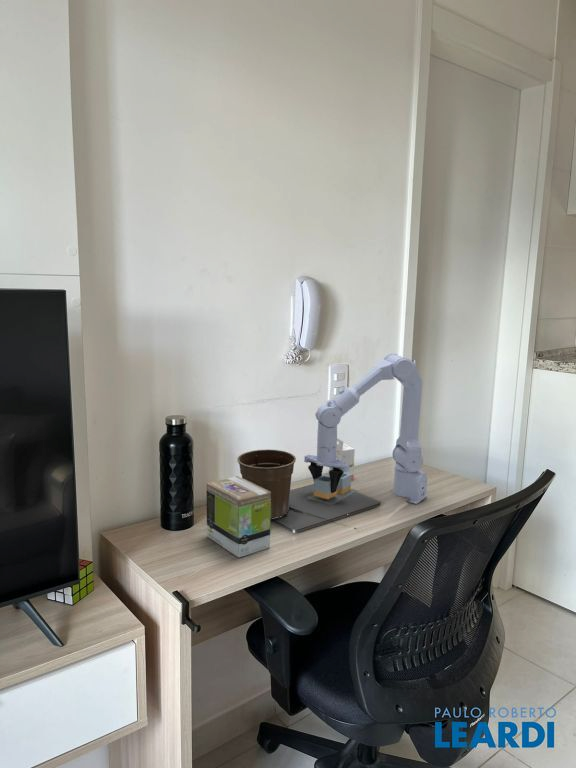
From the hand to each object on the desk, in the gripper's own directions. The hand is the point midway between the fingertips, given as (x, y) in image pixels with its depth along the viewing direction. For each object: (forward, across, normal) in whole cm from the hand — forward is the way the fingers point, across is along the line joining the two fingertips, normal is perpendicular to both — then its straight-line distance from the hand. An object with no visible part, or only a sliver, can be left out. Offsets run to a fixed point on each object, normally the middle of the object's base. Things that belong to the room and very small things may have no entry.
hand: (325, 489), depth 172 cm
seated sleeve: (+3, 0, +8) cm, 8 cm away
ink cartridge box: (+4, -6, +19) cm, 20 cm away
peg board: (+4, 0, +4) cm, 6 cm away
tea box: (+4, -3, -36) cm, 36 cm away
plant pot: (+4, -9, -17) cm, 20 cm away
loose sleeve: (+2, 0, 0) cm, 2 cm away
